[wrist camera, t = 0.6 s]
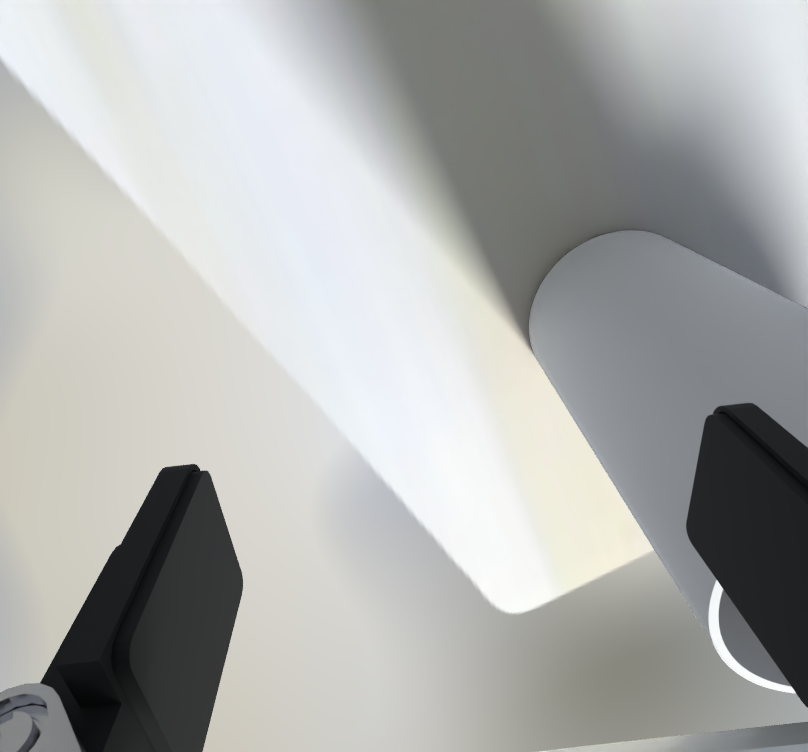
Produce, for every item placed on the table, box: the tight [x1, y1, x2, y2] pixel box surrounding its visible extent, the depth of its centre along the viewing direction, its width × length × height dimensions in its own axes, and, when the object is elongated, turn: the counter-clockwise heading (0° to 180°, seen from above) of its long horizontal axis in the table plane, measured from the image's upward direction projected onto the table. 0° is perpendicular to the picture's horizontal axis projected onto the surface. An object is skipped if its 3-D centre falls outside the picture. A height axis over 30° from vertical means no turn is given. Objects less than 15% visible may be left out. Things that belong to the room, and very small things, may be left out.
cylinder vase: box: [529, 230, 808, 693], centre depth 30 cm, size 12×12×25 cm
